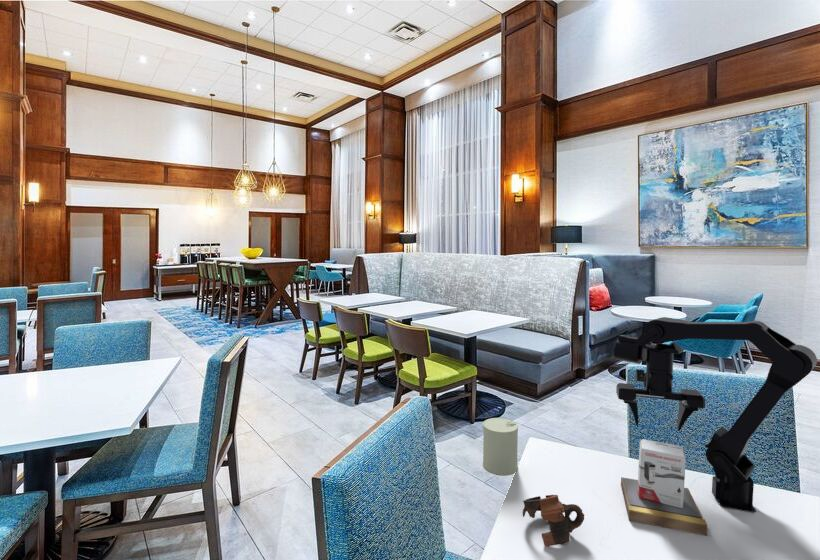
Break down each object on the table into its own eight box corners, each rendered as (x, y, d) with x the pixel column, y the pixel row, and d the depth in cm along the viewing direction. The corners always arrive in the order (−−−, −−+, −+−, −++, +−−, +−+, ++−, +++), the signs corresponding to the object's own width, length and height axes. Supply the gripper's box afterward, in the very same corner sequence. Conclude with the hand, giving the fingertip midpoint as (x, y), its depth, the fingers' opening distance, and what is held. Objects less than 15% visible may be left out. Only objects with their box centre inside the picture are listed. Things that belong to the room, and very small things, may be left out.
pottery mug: (530, 550, 81) (518, 503, 84) (530, 541, 89) (519, 498, 93) (593, 541, 79) (579, 493, 82) (587, 532, 87) (574, 489, 91)
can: (523, 474, 107) (524, 428, 106) (489, 477, 106) (489, 431, 105) (509, 456, 116) (509, 414, 115) (477, 459, 115) (478, 417, 114)
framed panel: (687, 496, 97) (688, 487, 97) (706, 535, 84) (707, 524, 84) (620, 485, 102) (621, 476, 102) (628, 520, 89) (629, 510, 88)
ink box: (637, 498, 92) (639, 447, 92) (637, 487, 97) (639, 438, 96) (684, 509, 88) (686, 456, 88) (681, 497, 93) (683, 446, 92)
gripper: (693, 362, 109) (691, 420, 110) (614, 356, 116) (613, 411, 117) (707, 374, 99) (704, 438, 100) (619, 367, 105) (617, 427, 106)
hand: (657, 427), depth 106 cm, fingers open, 9 cm apart
